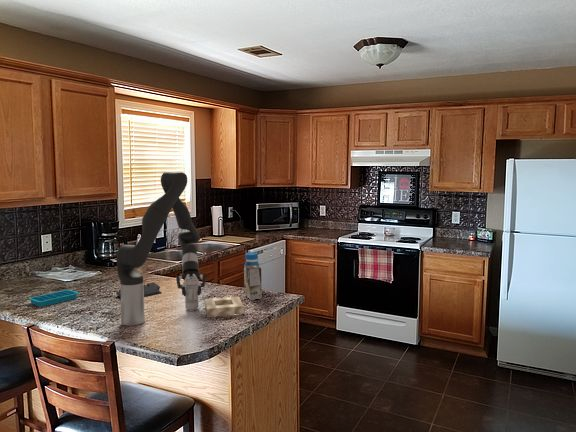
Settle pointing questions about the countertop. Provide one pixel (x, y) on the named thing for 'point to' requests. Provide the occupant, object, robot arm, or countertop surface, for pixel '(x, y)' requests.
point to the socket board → (223, 306)
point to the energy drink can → (191, 293)
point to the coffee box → (253, 282)
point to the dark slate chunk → (148, 290)
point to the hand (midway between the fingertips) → (191, 294)
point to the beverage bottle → (250, 261)
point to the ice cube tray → (54, 297)
